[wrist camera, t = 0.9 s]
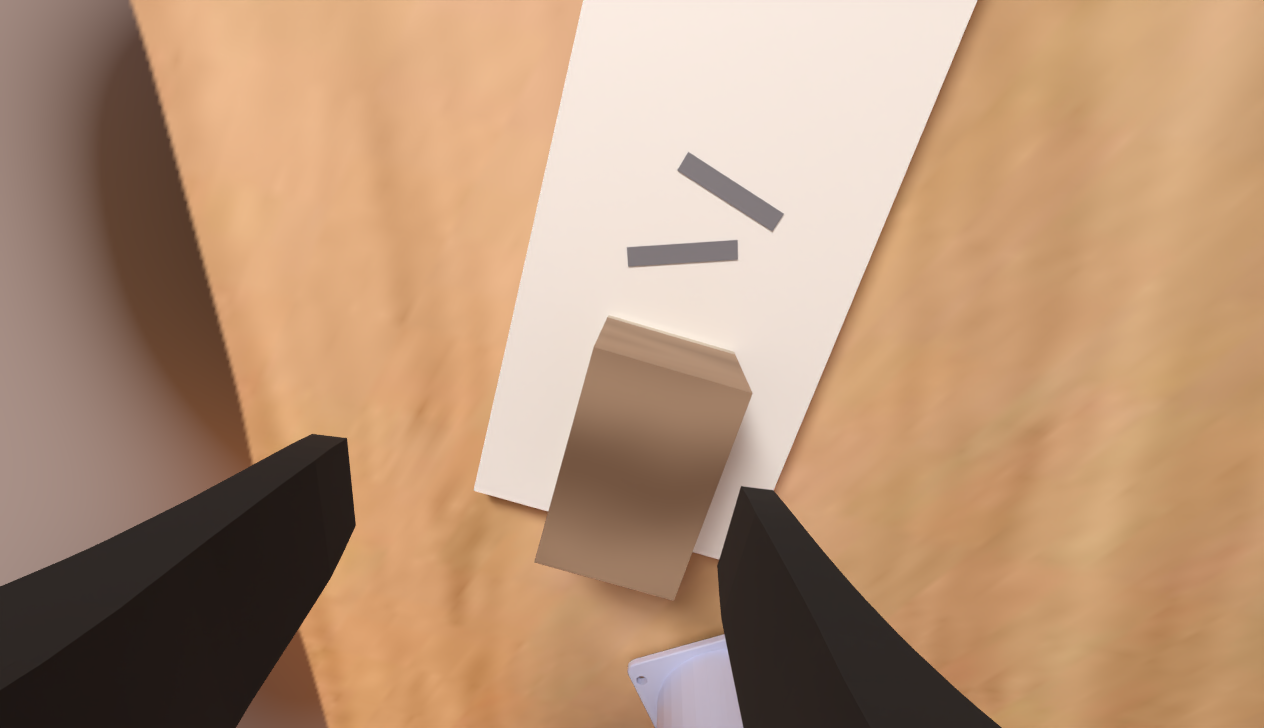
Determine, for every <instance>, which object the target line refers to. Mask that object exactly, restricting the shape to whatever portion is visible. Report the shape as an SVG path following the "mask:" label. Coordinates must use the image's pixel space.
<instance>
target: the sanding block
mask: <svg viewBox="0 0 1264 728" xmlns="http://www.w3.org/2000/svg"><path fill="white" fill-rule="evenodd" d="M752 394H753V393H752V391H751V388H750V386H749V384H748V382H747V380H746V377H745V375H744V373H743V371H742V368H741V366H740V364H739V362H738V359H737V357H736V355H735V353H734V352H733V351H730V350H726V349H723V348H720V347H716V346H713V345H709V344H706V343H702V342H699V341H696V340H692V339H689V338H685V337H682V336H679V335H675V334H672V333H668V332H665V331H662V330H658V329H655V328H651V327H648V326H644V325H641V324H638V323H634V322H631V321H627V320H624V319H621V318H617V317H614V316H610V315H608V317H607V319H606V321H605V323H604V326H603V328H602V330H601V332H600V334H599V336H598V339H597V341H596V343H595V345H594V347H593V351H592V355H591V358H590V362H589V366H588V369H587V373H586V376H585V380H584V384H583V387H582V391H581V395H580V398H579V402H578V405H577V409H576V413H575V416H574V420H573V424H572V427H571V431H570V435H569V438H568V442H567V445H566V449H565V453H564V456H563V460H562V464H561V467H560V471H559V475H558V478H557V482H556V485H555V489H554V493H553V496H552V500H551V504H550V507H549V511H548V514H547V518H546V522H545V525H544V529H543V533H542V536H541V540H540V544H539V547H538V551H537V554H536V558H535V563H538V564H542V565H546V566H549V567H553V568H556V569H560V570H564V571H567V572H571V573H574V574H578V575H582V576H585V577H589V578H592V579H596V580H600V581H603V582H607V583H610V584H614V585H618V586H621V587H625V588H628V589H632V590H636V591H639V592H643V593H646V594H650V595H654V596H657V597H661V598H664V599H668V600H672V601H674V599H675V597H676V594H677V592H678V589H679V586H680V584H681V581H682V578H683V576H684V573H685V570H686V568H687V565H688V563H689V560H690V557H691V555H692V552H693V549H694V547H695V544H696V541H697V539H698V536H699V534H700V531H701V528H702V526H703V523H704V520H705V518H706V515H707V512H708V510H709V507H710V505H711V502H712V499H713V497H714V494H715V491H716V489H717V486H718V483H719V481H720V478H721V475H722V473H723V470H724V468H725V465H726V462H727V460H728V457H729V454H730V452H731V449H732V446H733V444H734V441H735V439H736V436H737V433H738V431H739V428H740V425H741V423H742V420H743V417H744V415H745V412H746V410H747V407H748V404H749V402H750V399H751V396H752Z"/></svg>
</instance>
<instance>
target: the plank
mask: <svg viewBox="0 0 1264 728" xmlns="http://www.w3.org/2000/svg"><path fill="white" fill-rule="evenodd" d="M976 2H977V0H583V4H582V9H581V13H580V18H579V22H578V27H577V31H576V36H575V40H574V45H573V49H572V54H571V58H570V62H569V67H568V71H567V76H566V80H565V85H564V89H563V94H562V98H561V103H560V107H559V112H558V116H557V121H556V125H555V129H554V134H553V138H552V143H551V147H550V152H549V156H548V161H547V165H546V170H545V174H544V179H543V183H542V188H541V192H540V197H539V201H538V205H537V210H536V214H535V219H534V223H533V228H532V232H531V237H530V241H529V246H528V250H527V255H526V259H525V264H524V268H523V272H522V277H521V281H520V286H519V290H518V295H517V299H516V304H515V308H514V313H513V317H512V322H511V326H510V331H509V335H508V340H507V344H506V348H505V353H504V357H503V362H502V366H501V371H500V375H499V380H498V384H497V389H496V393H495V398H494V402H493V407H492V411H491V415H490V420H489V424H488V429H487V433H486V438H485V442H484V447H483V451H482V456H481V460H480V465H479V469H478V474H477V478H476V483H475V487H474V491H477V492H480V493H484V494H487V495H491V496H495V497H498V498H502V499H505V500H509V501H512V502H516V503H520V504H523V505H527V506H530V507H534V508H537V509H541V510H544V511H549V507H550V504H551V500H552V496H553V493H554V489H555V485H556V482H557V478H558V475H559V471H560V467H561V464H562V460H563V456H564V453H565V449H566V445H567V442H568V438H569V435H570V431H571V427H572V424H573V420H574V416H575V413H576V409H577V405H578V402H579V398H580V395H581V391H582V387H583V384H584V380H585V376H586V373H587V369H588V366H589V362H590V358H591V355H592V351H593V347H594V345H595V343H596V341H597V339H598V336H599V334H600V332H601V330H602V328H603V326H604V323H605V321H606V319H607V317H608V315H610V316H614V317H617V318H621V319H624V320H627V321H631V322H634V323H638V324H641V325H644V326H648V327H651V328H655V329H658V330H662V331H665V332H668V333H672V334H675V335H679V336H682V337H685V338H689V339H692V340H696V341H699V342H702V343H706V344H709V345H713V346H716V347H720V348H723V349H726V350H730V351H733V352H734V353H735V355H736V357H737V359H738V362H739V364H740V366H741V368H742V371H743V373H744V375H745V377H746V380H747V382H748V384H749V386H750V388H751V391H752V393H753V394H752V396H751V399H750V402H749V404H748V407H747V410H746V412H745V415H744V417H743V420H742V423H741V425H740V428H739V431H738V433H737V436H736V439H735V441H734V444H733V446H732V449H731V452H730V454H729V457H728V460H727V462H726V465H725V468H724V470H723V473H722V475H721V478H720V481H719V483H718V486H717V489H716V491H715V494H714V497H713V499H712V502H711V505H710V507H709V510H708V512H707V515H706V518H705V520H704V523H703V526H702V528H701V531H700V534H699V536H698V539H697V541H696V544H695V547H694V549H693V552H694V553H698V554H701V555H705V556H708V557H712V558H715V559H720V556H721V552H722V549H723V545H724V542H725V539H726V535H727V532H728V528H729V525H730V522H731V518H732V515H733V512H734V508H735V505H736V501H737V498H738V495H739V491H740V488H741V486H744V487H752V488H760V489H769V490H774V488H775V486H776V483H777V481H778V478H779V476H780V474H781V471H782V469H783V466H784V464H785V462H786V459H787V457H788V454H789V452H790V450H791V447H792V445H793V442H794V440H795V437H796V435H797V433H798V430H799V428H800V425H801V423H802V421H803V418H804V416H805V413H806V411H807V409H808V406H809V404H810V401H811V399H812V397H813V394H814V392H815V389H816V387H817V385H818V382H819V380H820V377H821V375H822V373H823V370H824V368H825V365H826V363H827V361H828V358H829V356H830V353H831V351H832V349H833V346H834V344H835V341H836V339H837V337H838V334H839V332H840V329H841V327H842V325H843V322H844V320H845V317H846V315H847V313H848V310H849V308H850V305H851V303H852V300H853V298H854V296H855V293H856V291H857V288H858V286H859V284H860V281H861V279H862V276H863V274H864V272H865V269H866V267H867V264H868V262H869V260H870V257H871V255H872V252H873V250H874V248H875V245H876V243H877V240H878V238H879V236H880V233H881V231H882V228H883V226H884V224H885V221H886V219H887V216H888V214H889V212H890V209H891V207H892V204H893V202H894V200H895V197H896V195H897V192H898V190H899V188H900V185H901V183H902V180H903V178H904V176H905V173H906V171H907V168H908V166H909V163H910V161H911V159H912V156H913V154H914V151H915V149H916V147H917V144H918V142H919V139H920V137H921V135H922V132H923V130H924V127H925V125H926V123H927V120H928V118H929V115H930V113H931V111H932V108H933V106H934V103H935V101H936V99H937V96H938V94H939V91H940V89H941V87H942V84H943V82H944V79H945V77H946V75H947V72H948V70H949V67H950V65H951V63H952V60H953V58H954V55H955V53H956V51H957V48H958V46H959V43H960V41H961V38H962V36H963V34H964V31H965V29H966V26H967V24H968V22H969V19H970V17H971V14H972V12H973V10H974V7H975V5H976Z"/></svg>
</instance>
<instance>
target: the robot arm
mask: <svg viewBox="0 0 1264 728" xmlns="http://www.w3.org/2000/svg"><path fill="white" fill-rule="evenodd" d="M355 526H356V524H355V514H354V504H353V494H352V484H351V474H350V464H349V454H348V444H347V438H340V437H332V436H324V435H316V434H311V435H309V436H307V437H305V438H303V439H301V440H299V441H297V442H295V443H293V444H291V445H289V446H287V447H285V448H283V449H281V450H280V451H278V452H276V453H274V454H272V455H270V456H269V457H267V458H265V459H263V460H261V461H259V462H258V463H256V464H254V465H252V466H250V467H248V468H247V469H245V470H243V471H241V472H239V473H237V474H235V475H234V476H232V477H230V478H228V479H226V480H224V481H222V482H221V483H219V484H217V485H215V486H213V487H211V488H209V489H207V490H206V491H204V492H202V493H200V494H198V495H197V496H194V497H193V498H191V499H189V500H187V501H185V502H183V503H181V504H179V505H177V506H175V507H173V508H171V509H169V510H167V511H165V512H163V513H161V514H159V515H157V516H155V517H153V518H151V519H149V520H147V521H145V522H143V523H141V524H139V525H136V526H134V527H133V528H130V529H128V530H126V531H124V532H122V533H120V534H118V535H116V536H114V537H112V538H110V539H108V540H106V541H104V542H102V543H100V544H97V545H95V546H93V547H91V548H89V549H87V550H84V551H82V552H80V553H78V554H75V555H73V556H71V557H69V558H67V559H64V560H62V561H60V562H57V563H55V564H53V565H50V566H48V567H46V568H43V569H41V570H38V571H36V572H34V573H31V574H29V575H27V576H24V577H22V578H20V579H17V580H15V581H13V582H10V583H8V584H5V585H3V586H0V728H236V726H237V725H238V723H239V721H240V720H241V718H242V716H243V714H244V713H245V711H246V709H247V708H248V706H249V705H250V703H251V701H252V700H253V698H254V697H255V695H256V693H257V692H258V691H259V689H260V687H261V686H262V684H263V683H264V681H265V680H266V678H267V677H268V675H269V674H270V672H271V670H272V669H273V667H274V666H275V664H276V663H277V661H278V660H279V658H280V657H281V655H282V653H283V652H284V650H285V649H286V647H287V646H288V644H289V643H290V641H291V640H292V638H293V636H294V635H295V633H296V632H297V630H298V629H299V627H300V626H301V624H302V623H303V621H304V619H305V618H306V616H307V615H308V613H309V612H310V610H311V608H312V607H313V605H314V604H315V602H316V601H317V599H318V597H319V596H320V594H321V593H322V591H323V589H324V588H325V586H326V585H327V583H328V581H329V580H330V578H331V576H332V574H333V572H334V570H335V568H336V566H337V564H338V562H339V560H340V558H341V556H342V554H343V552H344V550H345V548H346V545H347V543H348V541H349V539H350V537H351V535H352V532H353V530H354V528H355ZM717 567H718V582H719V596H720V607H721V618H722V624H723V629H724V634H723V635H719V636H716V637H712V638H709V639H705V640H701V641H698V642H694V643H691V644H687V645H683V646H680V647H676V648H673V649H669V650H665V651H662V652H658V653H655V654H651V655H647V656H644V657H640V658H637V659H634V660H631V661H630V662H629V664H628V675H629V677H630V679H631V681H632V683H633V685H634V687H635V689H636V691H637V693H638V695H639V697H640V699H641V701H642V703H643V705H644V707H645V709H646V711H647V713H648V715H649V717H650V719H651V721H652V723H653V725H654V727H655V728H1001V727H1000V726H999V725H998V724H997V723H995V722H994V721H993V720H992V719H991V718H989V717H988V716H987V715H986V714H985V713H983V712H982V711H981V710H980V709H979V708H977V707H976V706H975V705H974V704H973V703H972V702H971V701H969V700H968V699H967V698H966V697H965V696H964V695H963V694H961V693H960V692H959V691H958V690H957V689H956V688H955V687H954V686H952V685H951V684H950V683H949V682H948V681H947V680H946V679H945V678H944V677H943V676H942V675H941V674H940V673H939V672H937V671H936V670H935V669H934V668H933V667H932V666H931V665H930V664H929V663H928V662H927V661H926V660H925V659H924V658H922V657H921V656H920V655H919V654H918V653H917V652H916V651H915V650H914V649H913V648H912V647H911V646H910V645H909V644H908V643H907V642H906V641H905V640H904V639H903V638H902V637H901V636H900V635H899V634H898V633H897V632H896V631H895V630H894V629H893V628H892V627H891V626H890V625H889V624H888V623H887V622H886V621H885V620H884V619H883V618H882V616H881V615H880V614H879V613H878V612H877V611H876V610H875V609H874V608H873V607H872V606H871V605H870V604H869V603H868V602H867V601H866V600H865V599H864V597H863V596H862V595H861V594H860V593H859V592H858V591H857V590H856V589H855V587H854V586H853V585H852V584H851V583H850V582H849V581H848V580H847V578H846V577H845V576H844V575H843V574H842V573H841V572H840V570H839V569H838V568H837V567H836V566H835V565H834V563H833V562H832V561H831V560H830V559H829V558H828V556H827V555H826V554H825V553H824V552H823V550H822V549H821V548H820V547H819V546H818V544H817V543H816V542H815V541H814V539H813V538H812V537H811V536H810V535H809V533H808V532H807V531H806V530H805V528H804V527H803V526H802V525H801V524H800V522H799V521H798V520H797V519H796V517H795V516H794V515H793V514H792V512H791V511H790V510H789V509H788V507H787V506H786V505H785V504H784V503H783V501H782V500H781V499H780V498H779V497H778V495H777V494H776V493H775V492H774V491H773V490H769V489H760V488H752V487H744V486H741V488H740V491H739V495H738V498H737V501H736V505H735V508H734V512H733V515H732V518H731V522H730V525H729V528H728V532H727V535H726V539H725V542H724V545H723V549H722V552H721V556H720V559H719V562H718V566H717ZM639 676H643V677H644V678H640V677H639Z"/></svg>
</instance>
